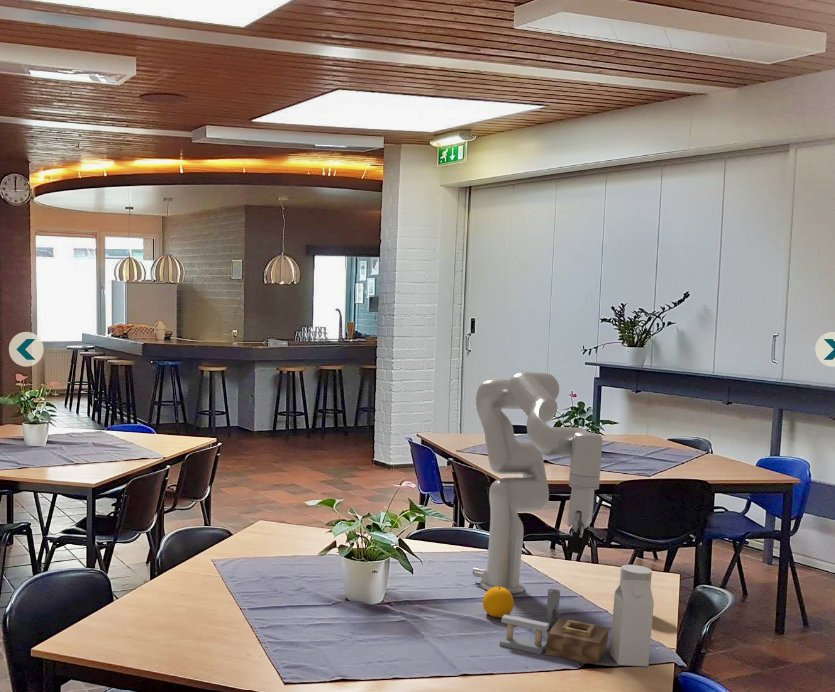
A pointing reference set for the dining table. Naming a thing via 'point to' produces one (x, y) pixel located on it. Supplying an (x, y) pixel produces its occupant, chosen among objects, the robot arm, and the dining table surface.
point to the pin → (552, 607)
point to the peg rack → (521, 642)
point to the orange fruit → (498, 602)
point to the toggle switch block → (577, 641)
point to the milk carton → (632, 623)
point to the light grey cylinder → (635, 573)
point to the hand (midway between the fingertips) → (578, 548)
